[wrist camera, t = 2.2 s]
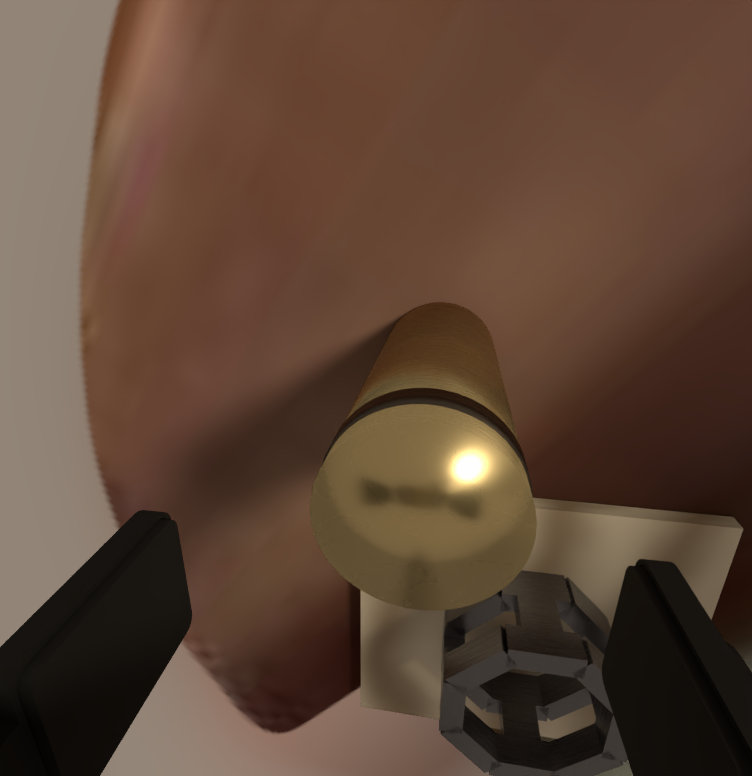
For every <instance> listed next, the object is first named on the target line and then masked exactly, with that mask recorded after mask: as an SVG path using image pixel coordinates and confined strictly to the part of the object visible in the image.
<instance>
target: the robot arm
mask: <svg viewBox="0 0 752 776" xmlns="http://www.w3.org/2000/svg"><path fill="white" fill-rule="evenodd" d="M191 620H192V610H191V604H190V598H189V592H188V586H187V580H186V575H185V569H184V563H183V557H182V551H181V545H180V539H179V533H178V527H177V524H176V522H175V521H174V520H171V518H170V516H169V514H168V513H165V512H156V511H146V510H141V511H138V512H137V513H135V514H134V515H133V516H132V517H131V518H130V519H129V520H128V521H127V522H126V523H125V524H124V525H123V526H122V527H121V528H120V529H119V530H118V531H117V532H116V533H115V534H114V535H113V536H112V537H111V538H110V539H109V540H108V541H107V542H106V543H105V544H104V545H103V546H102V547H101V548H100V549H99V550H98V551H97V552H96V553H95V554H94V555H93V556H92V557H91V558H90V559H89V560H88V561H87V562H86V563H85V564H84V565H83V566H82V567H81V568H80V569H79V570H78V571H77V572H76V573H75V574H74V575H73V576H72V577H71V578H70V579H69V580H68V581H67V582H66V583H65V584H64V585H63V586H62V587H61V588H60V589H59V590H58V591H57V592H56V593H55V594H54V595H52V597H50V599H49V600H47V601H46V602H45V603H44V604H43V605H42V606H41V607H40V608H39V609H38V610H37V611H36V612H35V613H34V614H33V615H32V616H31V617H30V618H29V619H28V620H27V621H26V622H25V623H24V624H23V625H22V626H21V627H20V628H19V629H18V630H17V631H16V632H15V633H14V634H13V635H12V636H11V637H10V638H9V639H8V640H7V641H6V642H5V643H4V644H3V645H2V646H1V647H0V776H100V775H101V773H102V772H103V770H104V768H105V767H106V765H107V763H108V762H109V760H110V758H111V757H112V755H113V753H114V752H115V750H116V748H117V747H118V745H119V743H120V742H121V740H122V738H123V737H124V735H125V734H126V732H127V730H128V729H129V727H130V725H131V724H132V722H133V720H134V719H135V717H136V715H137V714H138V712H139V710H140V709H141V707H142V706H143V704H144V702H145V701H146V699H147V697H148V696H149V694H150V692H151V691H152V689H153V687H154V686H155V684H156V683H157V681H158V679H159V678H160V676H161V674H162V673H163V671H164V669H165V668H166V666H167V664H168V663H169V661H170V660H171V658H172V656H173V655H174V653H175V651H176V650H177V648H178V646H179V645H180V643H181V641H182V640H183V638H184V636H185V635H186V633H187V631H188V629H189V627H190V624H191ZM602 679H603V684H604V687H605V690H606V694H607V697H608V700H609V703H610V706H611V709H612V712H613V715H614V718H615V721H616V724H617V727H618V730H619V733H620V736H621V739H622V742H623V745H624V748H625V751H626V755H627V758H628V761H629V764H630V767H631V770H632V773H633V776H752V673H751V671H750V669H749V668H748V666H747V665H746V663H745V662H744V660H743V659H742V657H741V656H740V654H739V653H738V652H737V651H736V650H735V648H734V647H733V646H731V645H730V644H728V643H727V642H725V641H724V639H723V638H722V636H721V634H720V633H719V631H718V630H717V628H716V627H715V625H714V623H713V622H712V620H711V619H710V617H709V616H708V614H707V612H706V611H705V609H704V608H703V606H702V605H701V603H700V602H699V600H698V598H697V597H696V595H695V594H694V592H693V591H692V589H691V587H690V586H689V584H688V583H687V581H686V580H685V578H684V577H683V575H682V573H681V572H680V570H679V569H678V567H677V566H676V565H675V564H674V563H672V562H668V561H658V560H648V559H639V560H638V561H637V562H636V565H635V566H628V567H627V569H626V571H625V575H624V579H623V583H622V587H621V591H620V595H619V599H618V603H617V607H616V611H615V615H614V619H613V623H612V627H611V631H610V635H609V639H608V643H607V647H606V651H605V655H604V659H603V663H602Z"/></svg>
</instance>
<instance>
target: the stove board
mask: <svg viewBox="0 0 752 776" xmlns="http://www.w3.org/2000/svg"><path fill="white" fill-rule="evenodd" d="M533 501H534V505H535V509H536V518H537V529H536V538H535V542H534V546H533V549H532V552H531V554H530V556H529V559H528V561H527V562H526V564H525V566H524V567H523V569H522V570H524V571H533V572H541V573H550V574H558V575H564V578H565V579H566V578H567V577H568V578H569V579H570V580H571V581H572V582H573V583H574V584H575V585H576V586H577V587H578V588H579V589H580V590H581V591H582V592H583V593H584V594H585V595H586V596H587V597H588V598H589V599H590V600H591V601H592V602H593V603H594V604H595V605H596V606H597V607H598V608H599V609H600V610H601V611H602V612H603V613H604V614H605V616H606V617H607V619H608V621H609V624H610V627H612V623H613V619H614V615H615V611H616V607H617V603H618V599H619V595H620V591H621V587H622V583H623V579H624V575H625V571H626V569H627V567H628V566H635V565H636V562H637V561H638V560H639V559H648V560H658V561H668V562H672V563H674V564H675V565H676V566H677V567H678V569H679V570H680V572H681V573H682V575H683V577H684V578H685V580H686V581H687V583H688V584H689V586H690V587H691V589H692V591H693V592H694V594H695V595H696V597H697V598H698V600H699V602H700V603H701V605H702V606H703V608H704V609H705V611H706V612H707V614H708V616H709V617H710V619H712V617H713V614H714V611H715V608H716V605H717V602H718V600H719V597H720V594H721V591H722V588H723V585H724V583H725V580H726V577H727V574H728V571H729V569H730V566H731V563H732V560H733V557H734V554H735V552H736V549H737V546H738V543H739V540H740V538H741V535H742V532H743V528H742V526H741V525H740V524H739V523H738V522H737V521H736V520H735V518H734V517H729V516H718V515H708V514H697V513H687V512H677V511H666V510H656V509H645V508H635V507H625V506H614V505H604V504H593V503H583V502H573V501H562V500H552V499H541V498H533ZM444 613H445V610H435V611H427V610H415V609H409V608H404V607H400V606H396V605H393V604H389V603H386V602H384V601H381V600H379V599H376V598H374V597H372V596H370V595H368V594H366V593H365V592H363V591H361V706H362V707H368V708H374V709H380V710H386V711H392V712H399V713H404V714H410V715H416V716H422V717H428V718H434V719H439V716H440V697H441V672H442V671H441V659H442V637H443V625H444ZM560 619H561V618H560ZM561 623H562V628H563V631H564V632H571V633H575V632H574V631H573V630H572V629H571V628H570V627H569V626H568V625H567V624H566V623H565V622H564V621H563V620H562V619H561ZM505 624H512V625H516V619H515V612H508V611H506V612H504V613H502V614H500V615H499V616H497V617H495V618H493V619H491V620H489V621H488V622H486V623H484V624H482V625H480V626H479V627H477V628H475V629H473V630H471V631H469V632H468V633H466V634H465V643H467V642H469V641H471V640H472V639H474V638H476V637H478V636H480V635H482V634H484V633H485V632H487V631H489V630H491V629H493V628H495V627H496V626H498V625H501V626H502V627H503V628H504V629H505ZM507 672H513V673H520V674H526V675H533V676H540V675H542V674H544V673H540V672H533V671H526V670H519V669H511V670H509V671H507ZM465 706H467V707H468V708H469V709H470V710H471V711H472V712H473V713H474V714H475V715H477V716H478V717H479V718H480V719H481V720H482V721H483V722H484V723H485V724H486V725H488V726H489V727H490V728H495V729H500V719H499V714H496V713H490V712H486V708H485V709H483V710H481V709H480V708H479V707H478V706H477V705H476V704H475V703H474V702H472V701H471V700H470V699H469V698H468V697H467V696H466V702H465ZM595 720H596V716H595V712H594V708H593V704H590V705H588V706H585V707H583V708H581V709H578V710H576V711H574V712H571V713H569V714H567V715H564V716H562V717H560V718H557V719H555V720H553V721H550V720H549V719H548V718H547V722H546V721H540V720H538V725H539V732H540V736H543V737H549V738H555V739H558V738H560V737H563V736H565V735H568V734H570V733H573V732H575V731H577V730H580V729H582V728H585V727H587V726H590V725H592V724H595Z"/></svg>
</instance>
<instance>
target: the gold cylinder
mask: <svg viewBox="0 0 752 776" xmlns="http://www.w3.org/2000/svg"><path fill="white" fill-rule="evenodd" d="M310 516H311V524H312V527H313V531H314V535H315V537H316V540H317V542H318V544H319V547H320V548H321V550H322V552H323V553H324V555H325V557H326V558H327V560H328V561H329V562H330V563H331V565H332V566H333V567H334V568H335V569H336V570H337V571H338V572H339V573H340V574H341V575H342V577H344V578H345V579H346V580H347V581H349V582H350V583H351V584H352V585H354V586H355V587H357V588H358V589H360V590H361V591H363V592H365V593H366V594H368V595H370V596H372V597H374V598H376V599H379V600H381V601H384V602H386V603H389V604H393V605H396V606H400V607H404V608H409V609H415V610H427V611H435V610H449V609H457V608H461V607H465V606H469V605H472V604H475V603H478V602H480V601H483V600H485V599H487V598H489V597H491V596H493V595H494V594H496V593H497V592H499V591H500V590H502V589H503V588H505V587H506V586H507V585H508V584H509V583H510V582H511V581H513V580H514V578H515V577H516V576H517V575H518V574H519V573H520V571H521V570H522V569H523V567H524V566H525V564H526V562H527V561H528V559H529V556H530V554H531V552H532V549H533V546H534V542H535V538H536V529H537V518H536V509H535V505H534V501H533V494H532V485H531V481H530V477H529V473H528V469H527V466H526V462H525V458H524V454H523V452H522V450H521V447H520V445H519V442H518V438H517V434H516V430H515V426H514V422H513V418H512V415H511V411H510V407H509V403H508V399H507V395H506V391H505V387H504V383H503V379H502V375H501V371H500V367H499V363H498V359H497V355H496V352H495V348H494V344H493V340H492V337H491V334H490V332H489V330H488V329H487V327H486V325H485V324H484V323H483V322H482V320H481V319H480V318H479V317H478V316H477V315H475V314H474V313H473V312H471V311H470V310H468V309H466V308H464V307H461V306H459V305H456V304H451V303H444V302H436V303H429V304H425V305H422V306H419V307H417V308H414V309H413V310H411V311H409V312H408V313H407V314H405V315H404V316H403V317H402V318H401V319H400V320H399V321H398V322H397V323H396V325H395V326H394V328H393V329H392V331H391V333H390V335H389V337H388V339H387V341H386V343H385V345H384V347H383V349H382V351H381V353H380V354H379V356H378V358H377V360H376V362H375V364H374V366H373V368H372V370H371V372H370V374H369V376H368V378H367V380H366V382H365V384H364V386H363V388H362V389H361V391H360V393H359V395H358V397H357V399H356V401H355V403H354V405H353V407H352V409H351V411H350V413H349V415H348V417H347V419H346V421H345V422H344V423H343V425H342V426H341V427H340V429H339V431H338V433H337V434H336V436H335V438H334V440H333V442H332V444H331V446H330V448H329V450H328V451H327V453H326V455H325V458H324V461H323V463H322V466H321V469H320V471H319V473H318V475H317V477H316V480H315V483H314V485H313V488H312V494H311V499H310Z"/></svg>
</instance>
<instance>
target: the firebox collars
mask: <svg viewBox="0 0 752 776" xmlns="http://www.w3.org/2000/svg"><path fill="white" fill-rule="evenodd" d="M506 611H508V612H515V619H516V625H512V624H505V629H504V628H503V627H502V626H501V625H498V626H496V627H495V628H493V629H491V630H489V631H487V632H485V633H484V634H482V635H480V636H478V637H476V638H474V639H472V640H471V641H469V642H467V643H465V634H466V633H468V632H469V631H471V630H473V629H475V628H477V627H479V626H480V625H482V624H484V623H486V622H488V621H489V620H491V619H493V618H495V617H497V616H499V615H500V614H502V613H504V612H506ZM560 618H561V619H562V620H563V621H564V622H565V623H566V624H567V625H568V626H569V627H570V628H571V629H572V630H573V631H574V632H575V633H571V632H564V631H563V628H562V623H561V619H560ZM610 631H611V627H610V624H609V621H608V619H607V617H606V616H605V614H604V613H603V612H602V611H601V610H600V609H599V608H598V607H597V606H596V605H595V604H594V603H593V602H592V601H591V600H590V599H589V598H588V597H587V596H586V595H585V594H584V593H583V592H582V591H581V590H580V589H579V588H578V587H577V586H576V585H575V584H574V583H573V582H572V581H571V580H570V579H569V578H568V577H567V578H566V579H565V578H564V575H558V574H550V573H541V572H533V571H524V570H521V571H520V573H519V574H518V575H517V576H516V577H515V578H514V580H513V581H511V582H510V583H509V584H508V585H507V586H506V587H505V588H503V589H502V590H500V591H499V592H497V593H496V594H494V595H493V596H491V597H489V598H487V599H485V600H483V601H480V602H478V603H475V604H472V605H469V606H465V607H461V608H457V609H449V610H445V613H444V625H443V637H442V659H441V671H442V672H441V697H440V716H439V730H440V731H441V735H442V736H444V737H445V738H446V739H447V740H448V741H449V742H451V743H452V744H453V745H454V746H455V747H456V748H457V749H458V750H459V751H461V752H462V753H463V754H464V755H465V756H466V757H467V758H469V759H470V760H471V761H472V762H473V763H474V764H475V765H476V766H478V767H479V768H480V769H481V770H482V771H483V772H484V773H485V772H488V771H489V775H493V776H594V775H597V774H600V773H602V772H605V771H608V770H610V769H613V768H616V767H619V766H621V765H623V763H622V761H623V762H626V761H627V755H626V751H625V748H624V745H623V742H622V739H621V736H620V733H619V730H618V727H617V724H616V721H615V718H614V715H613V712H612V709H611V706H610V703H609V700H608V697H607V694H606V690H605V687H604V684H603V679H602V663H603V659H604V655H605V651H606V647H607V643H608V639H609V635H610ZM511 669H519V670H526V671H533V672H540V673H544V674H542V675H540V676H533V675H526V674H520V673H513V672H507V671H509V670H511ZM466 696H467V697H468V698H469V699H470V700H471V701H472V702H474V703H475V704H476V705H477V706H478V707H479V708H480V709H481V710H483V709H485V708H486V712H490V713H496V714H499V719H500V731H501V734H498V733H495V732H494V731H493V730H492V729H491V728H490V727H489V726H488V725H486V724H485V723H484V722H483V721H482V720H481V719H480V718H479V717H478V716H477V715H475V714H474V713H473V712H472V711H471V710H470V709H469V708H468V707H467V706H465V702H466ZM590 704H593V708H594V712H595V716H596V720H595V724H592V725H590V726H587V727H585V728H582V729H580V730H577V731H575V732H573V733H570V734H568V735H565V736H563V737H560V738H558V739H556V740H553V741H551V742H546V741H541V738H540V732H539V725H538V720H540V721H546V722H547V718H548V719H549V720H550V721H553V720H555V719H557V718H560V717H562V716H564V715H567V714H569V713H571V712H574V711H576V710H578V709H581V708H583V707H585V706H588V705H590Z"/></svg>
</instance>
